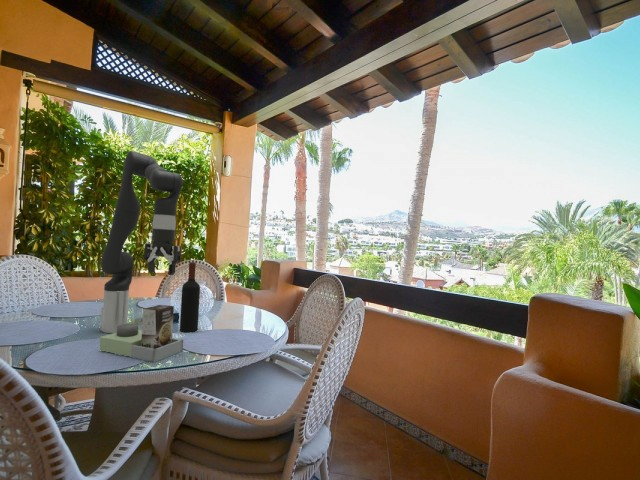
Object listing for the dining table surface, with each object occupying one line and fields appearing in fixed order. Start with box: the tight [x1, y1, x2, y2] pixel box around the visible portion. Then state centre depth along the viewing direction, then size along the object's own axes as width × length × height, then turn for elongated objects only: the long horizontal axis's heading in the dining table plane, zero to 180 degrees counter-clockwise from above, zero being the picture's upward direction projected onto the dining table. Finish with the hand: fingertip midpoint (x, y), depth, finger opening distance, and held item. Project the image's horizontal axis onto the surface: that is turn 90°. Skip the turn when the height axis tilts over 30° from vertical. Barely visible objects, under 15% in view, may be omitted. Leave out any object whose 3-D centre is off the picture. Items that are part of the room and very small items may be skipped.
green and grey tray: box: [99, 323, 184, 363], centre depth 134 cm, size 24×14×8 cm, turn 71°
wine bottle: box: [179, 261, 201, 334], centre depth 165 cm, size 8×8×30 cm
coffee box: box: [141, 304, 175, 349], centre depth 133 cm, size 9×6×16 cm
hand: (161, 273), depth 133 cm, fingers open, 8 cm apart
